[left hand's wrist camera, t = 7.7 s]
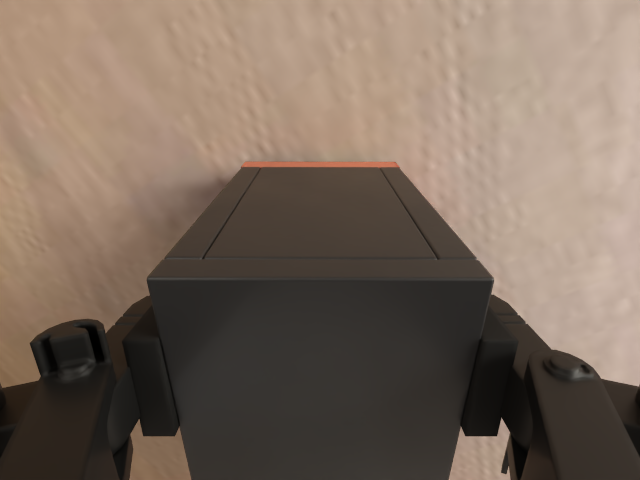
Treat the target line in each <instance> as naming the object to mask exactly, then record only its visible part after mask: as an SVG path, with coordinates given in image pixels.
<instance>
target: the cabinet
mask: <svg viewBox="0 0 640 480" xmlns="http://www.w3.org/2000/svg"><path fill="white" fill-rule="evenodd" d="M493 283H494V278H493V277H492V275H491V274H490V273H489V272H488V271H487V270H486V268H485V267H484V266H483V265H482V264H481V263H480V261H478V260H477V258H476V257H475V256H474V254H473V253H472V252H471V251H470V250H469V249H468V247H467V246H466V245H465V244H464V243H463V242H462V240H461V239H460V238H459V237H458V236H457V235H456V233H455V232H454V231H453V230H452V229H451V228H450V227H449V225H448V224H447V223H446V222H445V221H444V220H443V218H442V217H441V216H440V215H439V214H438V213H437V211H436V210H435V209H434V208H433V207H432V206H431V204H430V203H429V202H428V201H427V200H426V199H425V197H424V196H423V195H422V194H421V193H420V192H419V190H418V189H417V188H416V187H415V186H414V185H413V183H412V182H411V181H410V180H409V179H408V178H407V177H406V175H405V174H404V173H403V172H402V171H401V170H400V168H399V166H398V165H397V164H396V162H245V163H244V164H243V165H242V166H241V169H240V170H239V171H238V173H237V174H236V175H235V176H234V177H233V178H232V180H231V181H230V182H229V183H228V184H227V185H226V187H225V188H224V189H223V190H222V191H221V192H220V194H219V195H218V196H217V197H216V198H215V199H214V201H213V202H212V203H211V204H210V205H209V206H208V208H207V209H206V210H205V211H204V212H203V213H202V215H201V216H200V217H199V218H198V219H197V220H196V222H195V223H194V224H193V225H192V226H191V227H190V229H189V230H188V231H187V232H186V233H185V234H184V236H183V237H182V238H181V239H180V240H179V241H178V243H177V244H176V245H175V246H174V247H173V248H172V250H171V251H170V252H169V253H168V254H167V255H166V257H165V259H164V260H162V261H161V262H160V263H159V264H158V265H157V267H156V268H155V269H154V270H153V271H152V272H151V274H150V275H149V276H148V277H147V284H148V288H149V292H150V297H151V301H152V306H153V310H154V315H155V319H156V324H157V328H158V333H159V337H160V341H161V346H162V350H163V355H164V359H165V364H166V368H167V373H168V377H169V381H170V386H171V390H172V395H173V399H174V404H175V408H176V413H177V417H178V421H179V426H180V430H181V435H182V439H183V444H184V448H185V453H186V457H187V462H188V466H189V470H190V475H191V479H192V480H448V479H449V475H450V471H451V466H452V462H453V458H454V453H455V449H456V445H457V440H458V436H459V431H460V427H461V423H462V418H463V414H464V410H465V405H466V401H467V397H468V392H469V388H470V384H471V379H472V375H473V370H474V366H475V362H476V357H477V353H478V349H479V344H480V340H481V336H482V331H483V327H484V322H485V318H486V314H487V309H488V305H489V301H490V296H491V292H492V288H493Z"/></svg>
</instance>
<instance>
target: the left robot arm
mask: <svg viewBox="0 0 640 480" xmlns="http://www.w3.org/2000/svg"><path fill="white" fill-rule="evenodd" d="M517 314H518V313H517V312H516V311H515V310H514V309H513V308H512V307H511V306H510V305H509V304H508V303H507V302H505V301H503V300H501V299H500V298H498V297H496V296H494V295H491V296H490V301H489V305H488V309H487V314H486V318H485V322H484V327H483V331H482V336H481V340H480V344H479V349H478V353H477V357H476V362H475V366H474V370H473V375H472V379H471V384H470V388H469V392H468V397H467V401H466V405H465V410H464V414H463V418H462V423H461V427H462V429H463V432H464V434H465V436H497V434H498V430H499V425H500V421H501V417H502V419H503V421H504V422H505V424H506V426H507V427H508V429H509V431H510V436H509V440H508V444H507V448H506V452H505V456H504V460H503V464H502V470H501V473H504V474H507V470H508V466H509V469H510V477H511V480H640V385H639V387H638V386H633V385H628V384H623V383H618V382H613V381H608V380H604V379H601V378H600V376H599V375H598V374H597V372H596V371H595V370H594V369H593V367H591V366H590V365H588V364H587V363H586V362H584V361H583V360H581V359H579V358H577V357H575V356H573V355H571V354H568V353H565V352H561V351H557V350H551V349H550V347H549V346H548V345H547V344H546V343H545V342H544V341H543V340H542V339H541V338H540V337H539V336H538V335H537V334H536V333H535V332H534V330H533V329H532V328H531V327H530V326H529V325H528V324H526V323H525V321H524V320H523V319H522V318H521V317H520V316H519V315H517ZM30 346H31V348H32V351H33V354H34V357H35V360H36V363H37V366H38V369H39V372H40V375H41V377H40V379H39V381H35V382H30V383H25V384H20V385H16V386H11V387H6V388H2V386H1V384H0V480H129V479H130V470H131V462H132V454H133V445H132V440H131V436H130V433H131V432H132V430H133V428H134V427H135V425H136V423H137V421H138V420H139V419H140V424H141V428H142V432H143V436H175V435H176V432H177V430H178V428H179V421H178V417H177V413H176V408H175V404H174V399H173V395H172V390H171V386H170V381H169V377H168V373H167V368H166V364H165V359H164V355H163V350H162V346H161V341H160V337H159V333H158V328H157V324H156V319H155V315H154V310H153V306H152V301H151V297H150V296H146V297H145V298H143V299H141V300H140V301H138V302H136V303H134V304H133V305H132V306H131V307H130V308H129V309H128V310H127V311H126V312H125V313H124V314H123V317H121V318H120V319H119V320H118V321H117V322H116V323H115V325H113V326H112V327H111V328H110V329H109V330H108V331H107V333H106V334H105V329H104V325H103V324H102V323H101V322H99V321H98V320H92V319H81V320H73V321H69V322H65V323H61V324H59V325H56V326H54V327H52V328H49V329H47V330H46V331H44V332H42V333H41V334H39V335H37V336H36V337H35V338H34V339H33V341H32V342H31V343H30Z"/></svg>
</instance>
